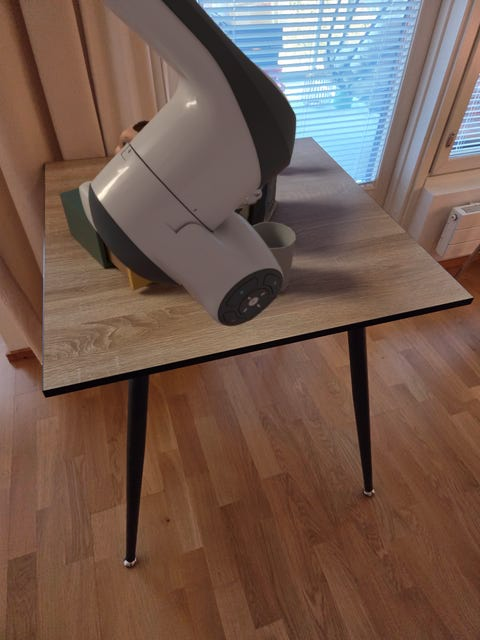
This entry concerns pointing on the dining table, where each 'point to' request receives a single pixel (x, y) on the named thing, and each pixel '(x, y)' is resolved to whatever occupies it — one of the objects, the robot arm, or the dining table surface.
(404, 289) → the dining table surface
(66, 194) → the cabinet
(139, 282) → the drawer
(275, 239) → the cup
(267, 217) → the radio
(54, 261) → the dining table surface
